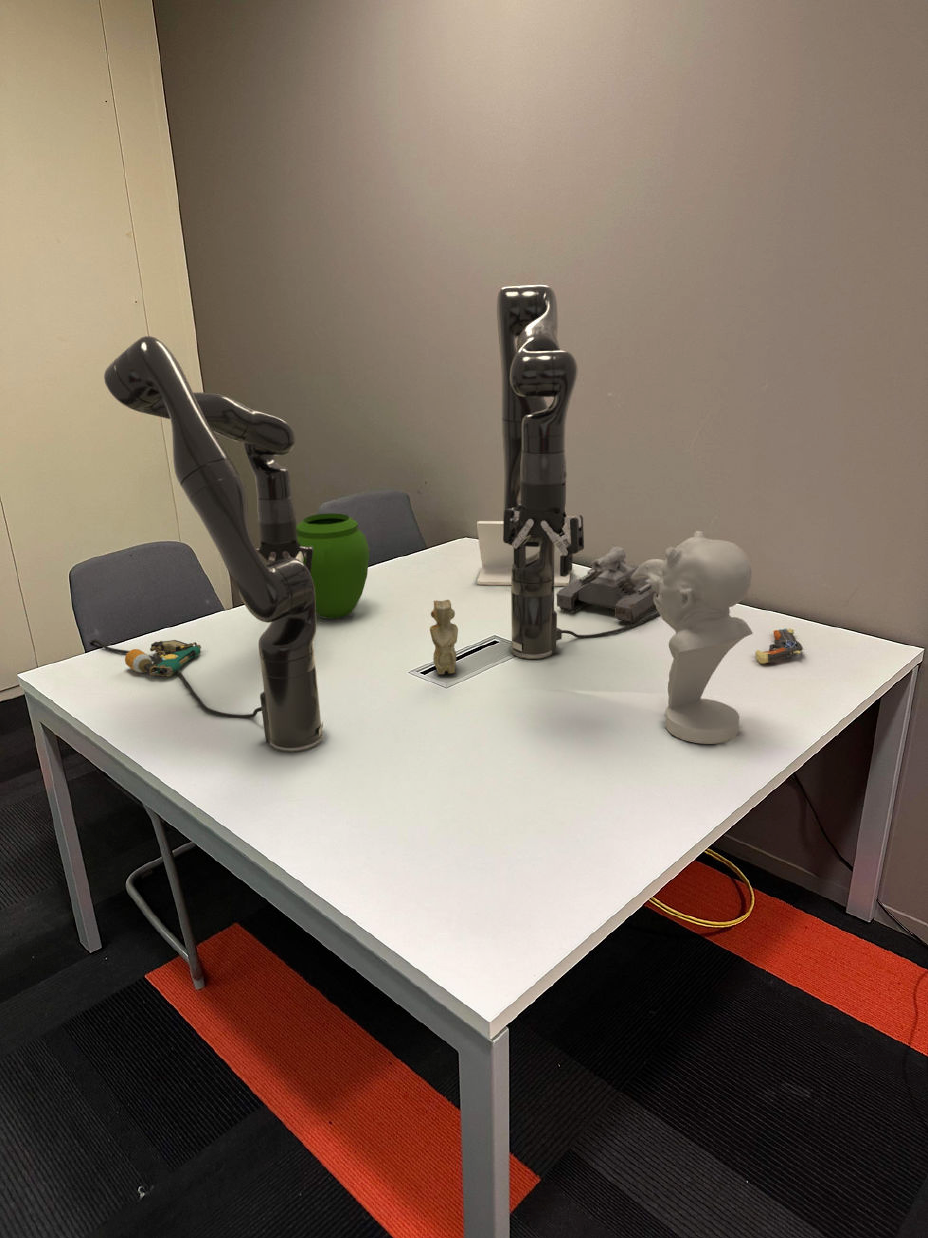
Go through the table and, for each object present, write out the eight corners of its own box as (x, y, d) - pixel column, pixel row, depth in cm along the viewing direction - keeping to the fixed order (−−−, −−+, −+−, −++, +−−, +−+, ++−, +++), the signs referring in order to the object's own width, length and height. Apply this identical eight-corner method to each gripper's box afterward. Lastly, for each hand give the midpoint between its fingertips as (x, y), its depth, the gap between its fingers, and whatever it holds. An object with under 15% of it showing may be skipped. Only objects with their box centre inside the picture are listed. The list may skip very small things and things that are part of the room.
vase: (389, 608, 216) (383, 514, 208) (339, 633, 201) (330, 533, 192) (330, 596, 226) (322, 506, 218) (278, 619, 211) (267, 523, 202)
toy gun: (758, 654, 176) (809, 651, 174) (746, 627, 194) (792, 624, 192) (758, 667, 177) (809, 664, 175) (747, 638, 195) (793, 635, 193)
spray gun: (168, 648, 197) (219, 659, 191) (111, 671, 183) (165, 685, 177) (166, 630, 196) (218, 641, 190) (109, 653, 181) (164, 665, 176)
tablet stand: (569, 585, 229) (570, 524, 223) (476, 584, 232) (475, 523, 226) (570, 566, 246) (571, 508, 240) (484, 564, 249) (483, 507, 243)
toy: (603, 584, 229) (605, 530, 224) (673, 597, 218) (677, 540, 213) (555, 612, 210) (556, 553, 205) (630, 627, 199) (633, 566, 194)
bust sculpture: (671, 682, 170) (682, 511, 158) (763, 732, 151) (784, 540, 138) (606, 701, 164) (613, 523, 151) (694, 755, 144) (709, 555, 131)
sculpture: (458, 662, 183) (456, 596, 178) (460, 676, 176) (457, 608, 171) (431, 663, 183) (428, 597, 177) (431, 677, 176) (428, 609, 171)
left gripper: (238, 523, 171) (248, 603, 177) (310, 520, 173) (317, 599, 179) (244, 515, 178) (252, 591, 184) (313, 512, 180) (319, 588, 186)
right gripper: (494, 478, 141) (495, 571, 147) (571, 486, 134) (569, 584, 140) (517, 470, 147) (517, 560, 153) (592, 477, 140) (590, 572, 145)
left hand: (284, 595), depth 181 cm, fingers closed on rod, 5 cm apart
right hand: (542, 571), depth 146 cm, fingers open, 8 cm apart
